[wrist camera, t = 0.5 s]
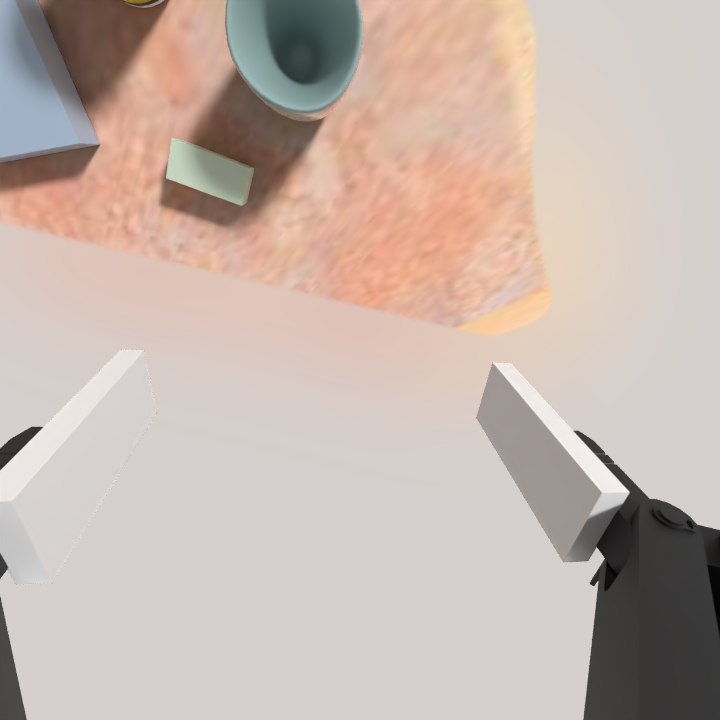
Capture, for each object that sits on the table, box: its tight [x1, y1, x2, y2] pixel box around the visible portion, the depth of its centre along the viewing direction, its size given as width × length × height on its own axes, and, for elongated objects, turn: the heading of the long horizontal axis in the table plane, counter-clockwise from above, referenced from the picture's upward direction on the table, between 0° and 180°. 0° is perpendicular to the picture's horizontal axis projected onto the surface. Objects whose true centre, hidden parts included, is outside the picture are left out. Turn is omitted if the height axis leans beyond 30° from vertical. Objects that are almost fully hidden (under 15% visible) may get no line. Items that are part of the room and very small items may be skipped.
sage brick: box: [166, 138, 255, 206], centre depth 32 cm, size 6×3×3 cm, turn 69°
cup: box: [225, 0, 363, 121], centre depth 26 cm, size 8×8×10 cm
